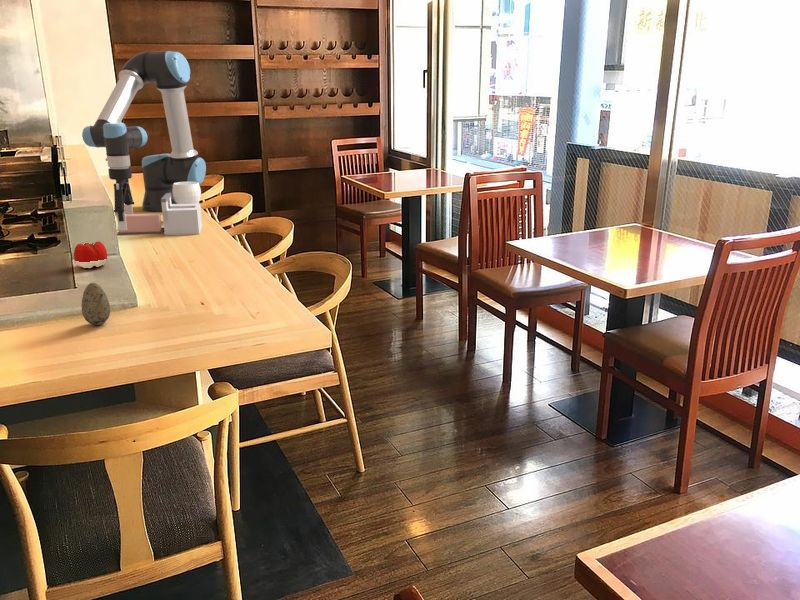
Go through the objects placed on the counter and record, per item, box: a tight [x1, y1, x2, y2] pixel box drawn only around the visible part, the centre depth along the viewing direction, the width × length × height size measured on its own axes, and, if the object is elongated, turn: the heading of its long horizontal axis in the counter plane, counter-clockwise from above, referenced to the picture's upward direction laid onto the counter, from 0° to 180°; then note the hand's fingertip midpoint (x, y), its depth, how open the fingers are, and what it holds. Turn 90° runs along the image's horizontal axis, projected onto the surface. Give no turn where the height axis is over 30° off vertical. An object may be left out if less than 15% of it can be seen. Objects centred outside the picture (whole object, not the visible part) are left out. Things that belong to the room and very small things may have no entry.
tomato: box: [73, 241, 108, 262], centre depth 202 cm, size 9×9×8 cm
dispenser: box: [161, 193, 203, 236], centre depth 250 cm, size 13×12×13 cm
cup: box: [172, 182, 202, 204], centre depth 267 cm, size 11×11×15 cm
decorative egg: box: [81, 282, 111, 326], centre depth 155 cm, size 6×6×10 cm
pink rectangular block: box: [119, 212, 163, 233], centre depth 248 cm, size 4×14×6 cm, turn 101°
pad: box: [117, 226, 165, 236], centre depth 250 cm, size 8×16×1 cm, turn 101°
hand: (126, 226), depth 248 cm, fingers open, 13 cm apart
